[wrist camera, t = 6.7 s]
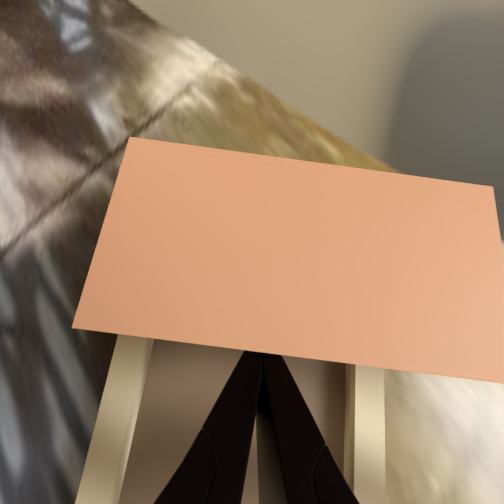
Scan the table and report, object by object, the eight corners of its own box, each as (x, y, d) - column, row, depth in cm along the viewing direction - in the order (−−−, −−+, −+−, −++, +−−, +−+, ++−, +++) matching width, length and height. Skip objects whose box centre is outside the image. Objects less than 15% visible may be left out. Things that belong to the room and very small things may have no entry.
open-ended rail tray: (361, 562, 14) (427, 688, 9) (89, 530, 14) (7, 640, 9) (363, 216, 19) (405, 178, 14) (170, 189, 19) (147, 142, 14)
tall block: (305, 342, 15) (521, 385, 4) (199, 329, 15) (70, 327, 3) (308, 290, 16) (492, 186, 4) (208, 276, 16) (129, 137, 4)
